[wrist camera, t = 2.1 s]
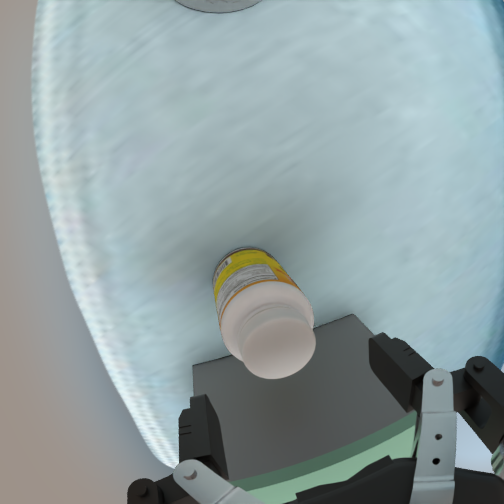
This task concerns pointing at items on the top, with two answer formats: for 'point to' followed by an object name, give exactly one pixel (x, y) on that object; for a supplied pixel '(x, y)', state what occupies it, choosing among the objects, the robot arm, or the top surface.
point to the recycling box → (306, 416)
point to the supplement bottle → (263, 314)
